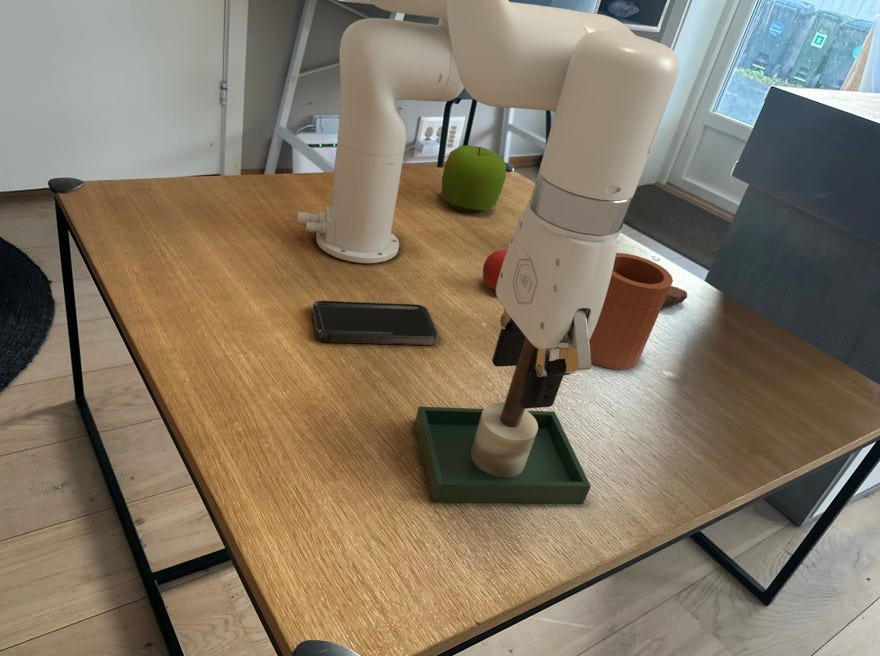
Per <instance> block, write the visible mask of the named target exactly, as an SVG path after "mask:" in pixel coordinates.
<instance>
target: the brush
mask: <svg viewBox="0 0 880 656" xmlns="http://www.w3.org/2000/svg"><path fill="white" fill-rule="evenodd" d="M537 353H538V348H536V347H535V346H534V345H533V344H532V343H531V342H530V341H529V340H528V339H527V338H526V336H525V339H524V343H523V346H522V349H521V352H520V355H519V359H518V362H517V365H516V366H515V369H514V371H513V375H512V378H511V381H510V383H509V384H510V385H509V387H508V391H507V394H506V396H505V401H504V402H495V403H491V404H489V405H487V406H485V408H483V409H484V410H483V412H482V414H481V418H480V421H479V425H478V428H477V432H476V435H475V438H474V442H473V445H472V449H471V458H472V460H473V462H474V463H475V465H476V466H477V467H478V468H479V469H481V470H482V471H483V472H485V473H487V474H489V475H492V476H495V477H500V478H510V477H515V476H517V475H519V474H520V473H521V472H522V471H523V470H524V467H525V465H526V462H527V459H528V456H529V453H530V451H531V448H532V445H533V442H534V439H535V437H536V434H537V431H538V424H537V421H536V420H535V418H534V417H533V416H532V415H531V414H530V413H529V412H528V411H529V410H526V409H523V408H522V406H521V405H520V399H521V396H522V393H523V390H524V387H525V384H526V381H527V378H528V375H529V372H530V370H532V369H536V362H537Z"/></svg>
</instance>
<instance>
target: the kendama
mask: <svg viewBox="0 0 880 656" xmlns="http://www.w3.org/2000/svg"><path fill="white" fill-rule="evenodd" d="M507 250H508V249H497V250H496V251H493V252H492V253H490V254H489V255H488V256H487V258H486V259H485V261H484V264H483V266H482V277H483V282H484V283H485V284H486V285H487V286H488V287H489V288H490V289H491V290H493V291H496V286H497V282H498V278H499V275H500V271H501V268H502V265H503V262H504V259H505V256H506V253H507Z"/></svg>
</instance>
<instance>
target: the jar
mask: <svg viewBox="0 0 880 656" xmlns="http://www.w3.org/2000/svg"><path fill="white" fill-rule="evenodd" d="M673 283H674V279H673V275H672V274H671V273H670V272H669V270H667V269H666V268H665V267H663V266H661V265H660V264H658V263H656V262H654V261H652V260H650V259H647V258H644V257H641V256H639V255H635V254H630V253H623V252H616V257H615V261H614V266H613V271H612V275H611V279H610V283H609V286H608V290H607V294H606V297H605V300H604V304H603V307H602V310H601V313H600V316H599V318H598V321H597V324H596V326H595V329H594V331H593V334H592V336H591V338H590V340H589V345H590V355H591V364H593V365H594V364H595V365H597V366H600V367H603V368H606V369H612V370H628V369H632V368H634V367H635V366H637V365H638V363H639V361H640V358H641V356H642V354H643V352H644V349H645V347H646V345H647V342H648V340H649V338H650V336H651V333H652V331H653V330H654V329H653V328H654V326H655V324H656V322H657V319H658V317H659V315H660V313H661V310H662V309H663V308H662V306H663V303H664V301H665V299H666V296H667V294H668V292H669V289H670V287H671V286H673Z"/></svg>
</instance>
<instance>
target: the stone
mask: <svg viewBox="0 0 880 656" xmlns="http://www.w3.org/2000/svg"><path fill="white" fill-rule="evenodd" d="M686 299H688V292H687V291H686V290H685V289H682V288H679V287H677V286H673V285H671V287H670V289H669V292H668V294H667V296H666V299H665V301H664V303H663V306H662V308H661V309H669V308H672V307H674V306H676V305H679V304H680V305H681V304H682V303H683V302H684V301H685V300H686Z"/></svg>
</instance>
